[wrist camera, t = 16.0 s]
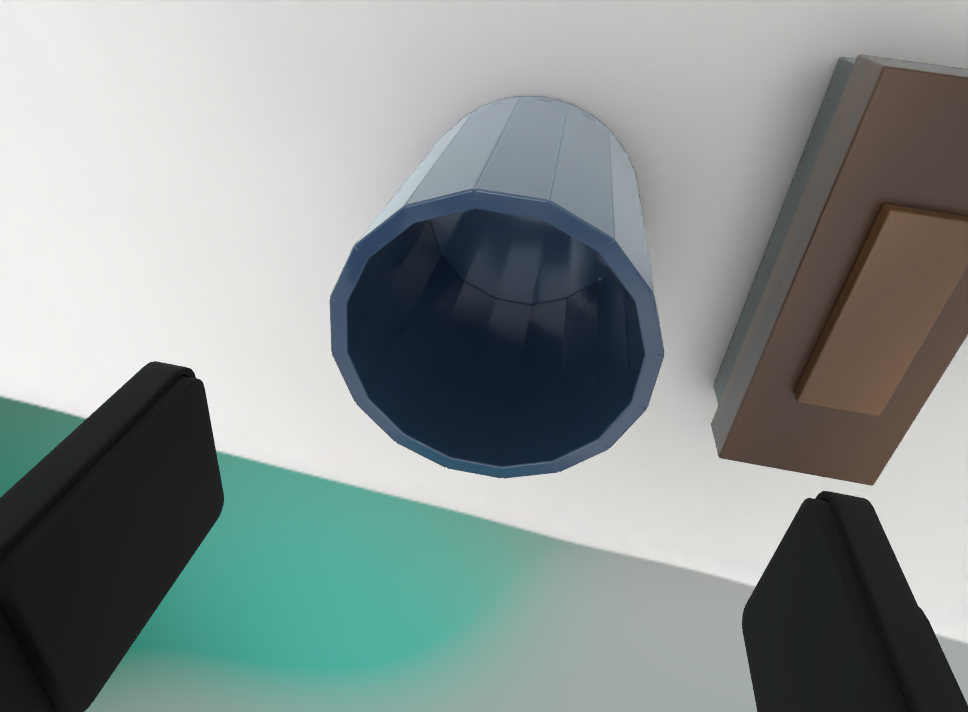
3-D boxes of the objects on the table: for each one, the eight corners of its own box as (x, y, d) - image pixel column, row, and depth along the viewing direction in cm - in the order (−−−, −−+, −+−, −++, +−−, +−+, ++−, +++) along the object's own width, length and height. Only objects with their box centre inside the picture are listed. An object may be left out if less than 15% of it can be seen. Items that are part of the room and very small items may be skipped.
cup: (664, 113, 19) (706, 224, 12) (612, 320, 23) (618, 501, 16) (429, 79, 20) (324, 165, 12) (417, 287, 24) (334, 447, 16)
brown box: (1022, 69, 17) (1133, 102, 14) (837, 414, 24) (879, 497, 20) (832, 43, 17) (892, 69, 14) (702, 391, 24) (720, 469, 21)
